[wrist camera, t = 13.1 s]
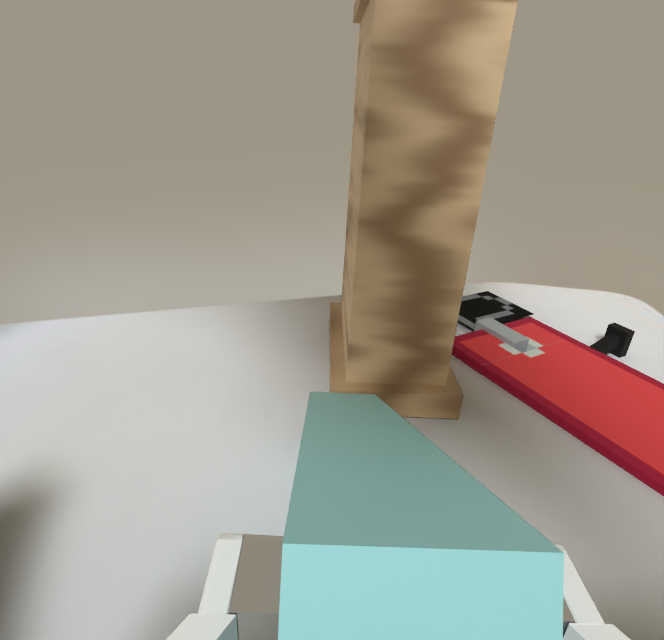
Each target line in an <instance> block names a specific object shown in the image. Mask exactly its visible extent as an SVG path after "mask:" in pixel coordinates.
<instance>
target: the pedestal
mask: <svg viewBox="0 0 664 640" xmlns="http://www.w3.org/2000/svg"><path fill="white" fill-rule="evenodd" d="M517 1H518V0H356V2H355V5H354V16H353V23H360V32H359V33H360V34H359V47H358V63H357V77H356V92H355V109H354V122H353V138H352V152H351V167H350V168H351V169H350V182H349V198H348V213H347V228H346V242H345V257H344V258H345V259H344V272H343V287H342V302H341V303H331V305H330V393H350V394H374V395H376V396H377V397H379V398H380V399H381V400H382V401H383V402H384V403H386V404H387V405H388V406H389V407H390V408H392V409H393V410H394V411H395V412H396V413H398V414H399V415H400V416H401V417H420V418H446V419H458V418H459V413H460V409H461V404H462V399H463V394H462V391H461V389H460V387H459V385H458V383H457V380H456V378H455V376H454V374H453V372H452V369H451V367H450V359H451V354H452V349H453V343H454V338H455V333H456V327H457V322H458V317H459V311H460V306H461V301H462V295H463V290H464V285H465V279H466V274H467V268H468V263H469V257H470V252H471V247H472V242H473V236H474V231H475V226H476V220H477V215H478V210H479V204H480V199H481V194H482V188H483V183H484V178H485V172H486V166H487V162H488V156H489V151H490V146H491V140H492V135H493V129H494V124H495V119H496V114H497V108H498V103H499V97H500V92H501V87H502V82H503V76H504V71H505V65H506V60H507V55H508V49H509V44H510V39H511V33H512V28H513V22H514V17H515V12H516V7H517Z"/></svg>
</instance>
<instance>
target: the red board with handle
mask: <svg viewBox="0 0 664 640" xmlns="http://www.w3.org/2000/svg"><path fill="white" fill-rule="evenodd" d="M532 314H533V313H531V312H529V311H527V310H525V309H523V308H521V307H519V306H517V305H515V304H513V303H510V302H508V301H506V300H504V299H502V298H500V297H498V296H496V295H494V294H492V293H490V292H488V291H487V292H482V293H477V294H472V295H468V296H463V297H462V301H461V306H460V311H459V317H458V320H459V321H461V322H462V323H464V324H466V325H467V326H469V327H471V328H472V329H474V332H471V333H467V334H463V335H459V336H455V338H454V343H453V349H452V355H454V356H455V357H457V358H458V359H460V360H461V361H463V362H464V363H466V364H467V365H469V366H470V367H472V368H473V369H475V370H476V371H478V372H479V373H481V374H482V375H484V376H485V377H487V378H488V379H490V380H491V381H492V382H494V383H495V384H497V385H498V386H500V387H501V388H503V389H504V390H506V391H507V392H509V393H510V394H512V395H513V396H515V397H516V398H518V399H519V400H521V401H522V402H524V403H525V404H527V405H528V406H530V407H531V408H533V409H534V410H536V411H537V412H539V413H540V414H542V415H543V416H545V417H546V418H548V419H549V420H551V421H552V422H554V423H555V424H557V425H558V426H560V427H561V428H563V429H564V430H566V431H567V432H569V433H570V434H572V435H573V436H575V437H576V438H578V439H579V440H581V441H582V442H584V443H585V444H587V445H588V446H590V447H591V448H593V449H594V450H596V451H597V452H599V453H600V454H602V455H603V456H605V457H606V458H608V459H609V460H610V461H612V462H613V463H615V464H616V465H618V466H619V467H621V468H622V469H624V470H625V471H627V472H628V473H630V474H631V475H633V476H634V477H636V478H637V479H639V480H640V481H642V482H643V483H645V484H646V485H648V486H649V487H651V488H652V489H654V490H655V491H657V492H658V493H660V494H661V495H663V496H664V384H663V383H661V382H659V381H657V380H655V379H653V378H651V377H649V376H647V375H645V374H643V373H641V372H639V371H637V370H635V369H633V368H631V367H629V366H627V365H625V364H623V363H621V362H619V361H617V360H615V359H613V358H611V357H609V356H607V355H606V354H607V353H611V354H613V355H615V356H617V357H619V358H620V357H623V356H626V353H627V350H628V348H629V345H630V343H631V340H632V337H633V335H634V332H635V331H632V330H630V329H628V328H626V327H623V326H621V325H619V324H616V323H612V324H609V325H608V328H607V331H606V333H605V336H604V338H602V339H601V340H599V341H598V342H596V343H594V344H593V345H591V346H590V347H589V346H587V345H585V344H583V343H581V342H579V341H577V340H575V339H573V338H571V337H569V336H567V335H565V334H563V333H561V332H559V331H557V330H555V329H553V328H551V327H549V326H547V325H545V324H543V323H541V322H539V321H537V320H535V319H533V318H531V317H528V318H524V319H520V320H517V321H513V322H509V323H505V324H501V323H502V322H506V321H509V320H513V319H517V318H521V317H525V316H529V315H532Z"/></svg>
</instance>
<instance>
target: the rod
mask: <svg viewBox="0 0 664 640" xmlns="http://www.w3.org/2000/svg"><path fill="white" fill-rule="evenodd" d="M563 583H564V553H563V552H562V551H561V550H560V549H559V548H557V547H556V546H555V545H554V544H553V543H552V542H550V541H549V540H548V539H547V538H546V537H544V536H543V535H542V534H541V533H540V532H538V531H537V530H536V529H535V528H534V527H532V526H531V525H530V524H529V523H528V522H526V521H525V520H524V519H523V518H522V517H520V516H519V515H518V514H517V513H516V512H515V511H513V510H512V509H511V508H510V507H509V506H507V505H506V504H505V503H504V502H503V501H501V500H500V499H499V498H498V497H497V496H495V495H494V494H493V493H492V492H491V491H489V490H488V489H487V488H486V487H485V486H484V485H482V484H481V483H480V482H479V481H478V480H476V479H475V478H474V477H473V476H472V475H470V474H469V473H468V472H467V471H466V470H464V469H463V468H462V467H461V466H460V465H458V464H457V463H456V462H455V461H454V460H452V459H451V458H450V457H449V456H448V455H447V454H445V453H444V452H443V451H442V450H441V449H439V448H438V447H437V446H436V445H435V444H433V443H432V442H431V441H430V440H429V439H427V438H426V437H425V436H424V435H423V434H421V433H420V432H419V431H418V430H417V429H416V428H414V427H413V426H412V425H411V424H410V423H408V422H407V421H406V420H405V419H404V418H402V417H401V416H400V415H399V414H398V413H396V412H395V411H394V410H393V409H392V408H390V407H389V406H388V405H387V404H386V403H384V402H383V401H382V400H381V399H380V398H379V397H377V396H376V395H374V394H350V393H326V392H310V396H309V401H308V407H307V412H306V418H305V423H304V429H303V434H302V440H301V445H300V451H299V456H298V462H297V467H296V473H295V478H294V484H293V489H292V494H291V500H290V505H289V511H288V516H287V522H286V527H285V533H284V538H283V545H282V565H281V585H280V605H279V625H278V640H563Z"/></svg>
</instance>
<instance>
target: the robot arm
mask: <svg viewBox="0 0 664 640" xmlns="http://www.w3.org/2000/svg"><path fill="white" fill-rule="evenodd" d="M283 538H284V536H267V535H250V534H227V533H220V534H219V536H218V538H217V540H216V544H215V548H214V551H213V555H212V559H211V563H210V567H209V571H208V575H207V579H206V583H205V587H204V590H203V594H202V598H201V602H200V606H199V610H198V613H190V614H189V615H188V616H187V617H186V618H185V619H184V620H183V621H182V622H181V623H180V624H179V626H178V627H177V628H176V629H175V630H174V631H173V632H172V633H171V634H170V635H169V636H168V638H167V639H166V640H278V625H279V605H280V585H281V565H282V545H283ZM554 545H555V546H556V547H557V548H559V549H560V550H561V551H562V552H563V553H564V583H563V640H631V639H630V638H628V637H627V636H626V635H625V634H624V633H623V632H621V631H620V630H619V629H618V628H617V627H616V626H614V625H613V624H605V623H604V621H603V619H602V617H601V615H600V613H599V611H598V610H597V608H596V606H595V604H594V602H593V600H592V598H591V596H590V595H589V593H588V591H587V589H586V587H585V585H584V583H583V582H582V580H581V578H580V576H579V574H578V572H577V570H576V569H575V567H574V565H573V563H572V561H571V559H570V557H569V556H568V554H567V552H566V550H565V548H564V547H562V546H561V545H560V544H554Z"/></svg>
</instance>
